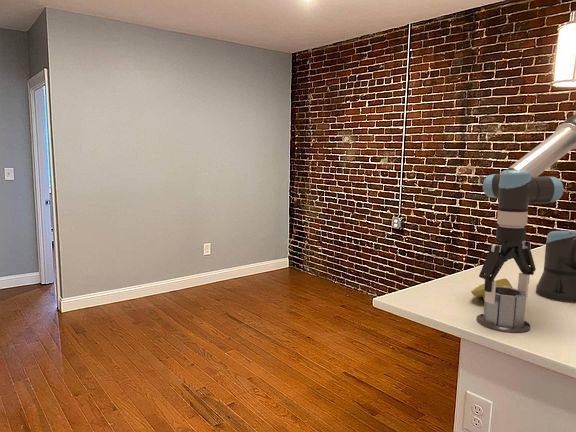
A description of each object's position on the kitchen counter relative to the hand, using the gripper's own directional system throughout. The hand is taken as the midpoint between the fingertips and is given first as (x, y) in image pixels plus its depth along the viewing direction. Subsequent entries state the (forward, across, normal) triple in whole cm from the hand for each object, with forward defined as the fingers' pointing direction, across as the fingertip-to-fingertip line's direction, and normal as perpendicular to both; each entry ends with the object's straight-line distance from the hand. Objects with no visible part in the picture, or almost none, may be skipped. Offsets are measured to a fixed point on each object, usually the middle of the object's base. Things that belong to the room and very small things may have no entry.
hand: (506, 299), depth 125 cm
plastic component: (+8, -14, -16) cm, 23 cm away
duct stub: (+7, +1, 0) cm, 7 cm away
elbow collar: (+7, +1, 0) cm, 7 cm away
